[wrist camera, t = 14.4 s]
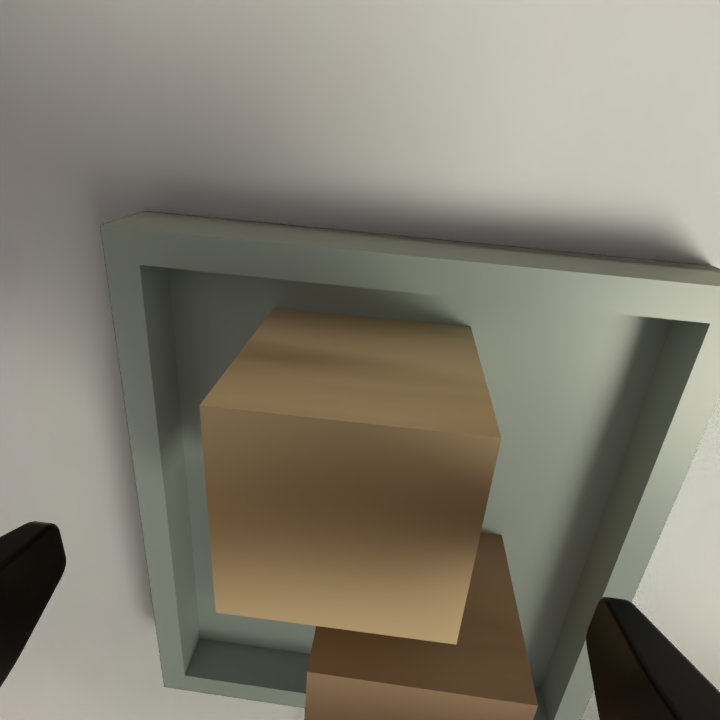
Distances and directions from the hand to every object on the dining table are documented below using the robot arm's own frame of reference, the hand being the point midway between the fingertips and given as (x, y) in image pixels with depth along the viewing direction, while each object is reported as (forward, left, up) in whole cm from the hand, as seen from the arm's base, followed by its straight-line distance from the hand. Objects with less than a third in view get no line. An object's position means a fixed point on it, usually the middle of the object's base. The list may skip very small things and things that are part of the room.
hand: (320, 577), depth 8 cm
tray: (-1, +4, -7) cm, 8 cm away
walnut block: (-2, +7, -6) cm, 9 cm away
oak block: (0, 0, -6) cm, 6 cm away
